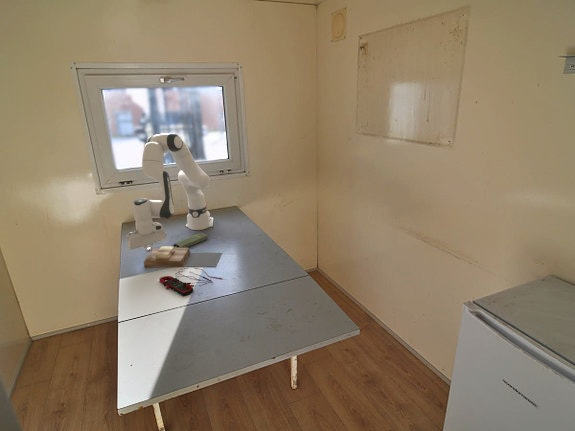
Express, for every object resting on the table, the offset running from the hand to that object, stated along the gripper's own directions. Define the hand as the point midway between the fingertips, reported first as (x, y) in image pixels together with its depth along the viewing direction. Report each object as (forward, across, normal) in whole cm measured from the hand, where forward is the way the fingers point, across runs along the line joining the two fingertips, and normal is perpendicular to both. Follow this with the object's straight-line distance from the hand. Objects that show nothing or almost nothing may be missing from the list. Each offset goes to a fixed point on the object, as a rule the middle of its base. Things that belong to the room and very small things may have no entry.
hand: (149, 251), depth 190 cm
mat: (+5, +21, -21) cm, 30 cm away
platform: (+5, +7, -7) cm, 11 cm away
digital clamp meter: (+6, +5, -36) cm, 37 cm away
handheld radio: (+4, +24, +6) cm, 25 cm away
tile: (+2, +6, -6) cm, 9 cm away
